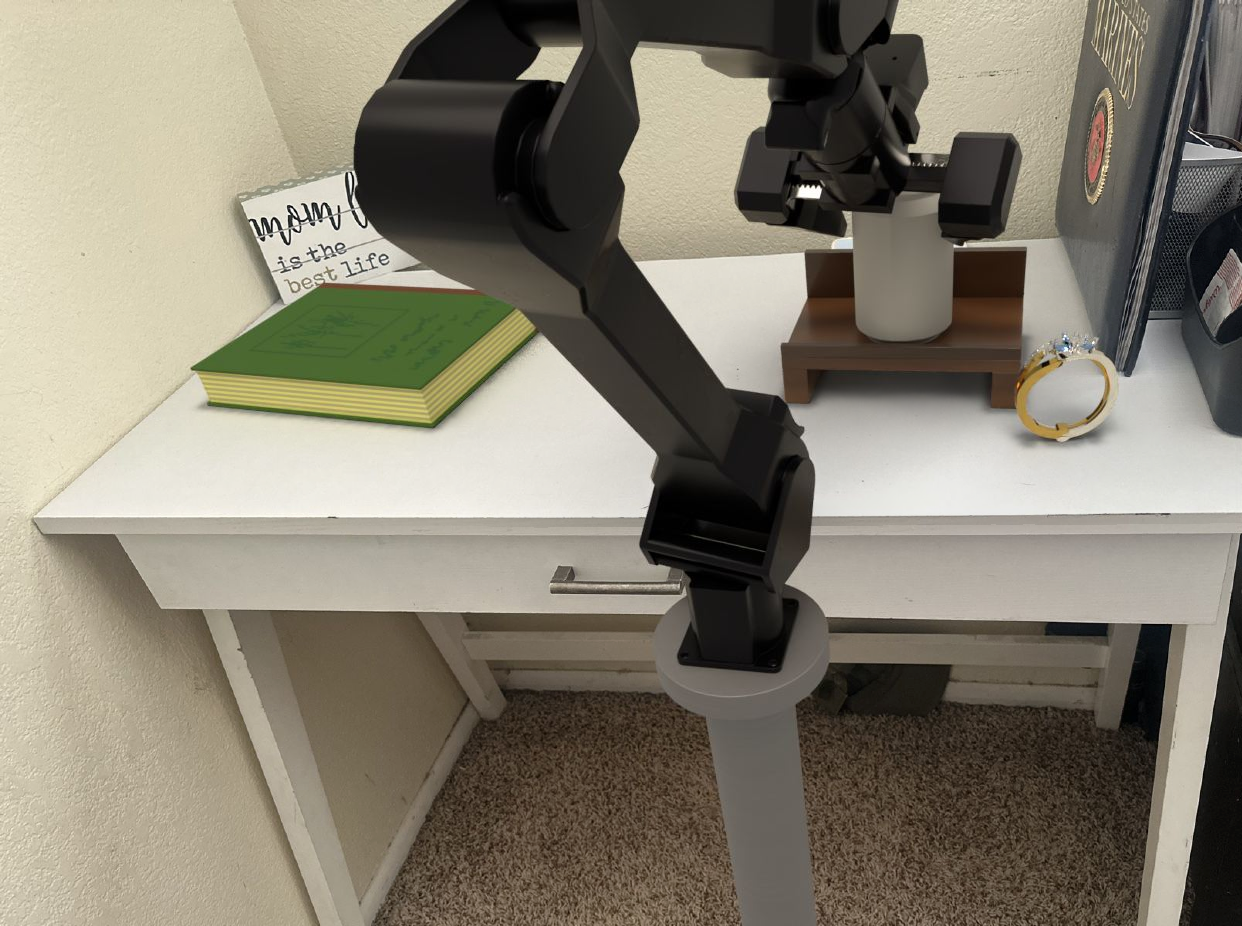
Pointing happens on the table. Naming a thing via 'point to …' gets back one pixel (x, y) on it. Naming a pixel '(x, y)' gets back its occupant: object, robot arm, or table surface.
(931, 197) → the can
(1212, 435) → the table surface
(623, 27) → the robot arm
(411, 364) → the hardcover book
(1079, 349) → the ring
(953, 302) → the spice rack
